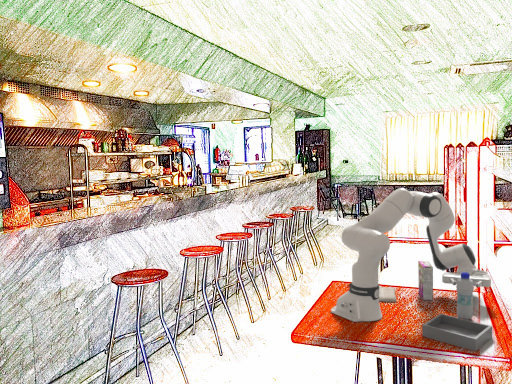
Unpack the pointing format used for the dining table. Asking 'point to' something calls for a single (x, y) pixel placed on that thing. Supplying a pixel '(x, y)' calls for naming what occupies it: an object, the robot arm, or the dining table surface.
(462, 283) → the bottle
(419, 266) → the candy bar box
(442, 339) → the serving tray
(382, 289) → the washcloth
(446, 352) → the dining table surface
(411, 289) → the dining table surface
